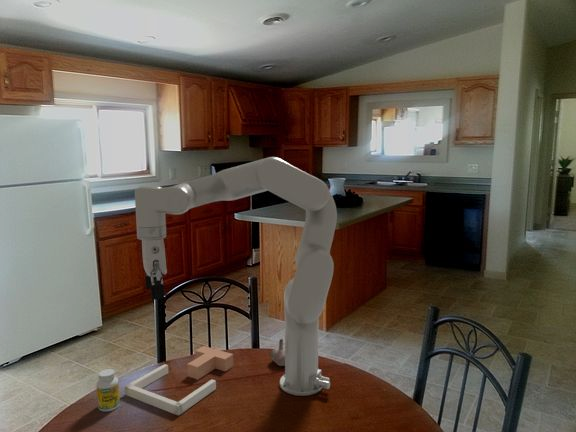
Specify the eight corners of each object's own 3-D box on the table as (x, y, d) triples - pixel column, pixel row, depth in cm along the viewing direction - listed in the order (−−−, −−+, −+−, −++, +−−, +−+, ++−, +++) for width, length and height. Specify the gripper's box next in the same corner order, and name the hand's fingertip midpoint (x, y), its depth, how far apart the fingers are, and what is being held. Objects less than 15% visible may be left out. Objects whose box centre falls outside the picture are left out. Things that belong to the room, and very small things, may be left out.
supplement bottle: (117, 398, 121) (115, 365, 120) (122, 408, 117) (120, 373, 115) (96, 404, 118) (93, 371, 117) (100, 414, 114) (97, 379, 112)
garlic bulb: (273, 356, 146) (273, 333, 145) (295, 358, 145) (295, 335, 143) (267, 367, 139) (267, 343, 138) (290, 369, 137) (290, 345, 136)
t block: (233, 366, 139) (233, 354, 139) (208, 383, 129) (208, 370, 128) (204, 357, 145) (203, 345, 145) (177, 373, 135) (177, 360, 134)
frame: (216, 388, 126) (215, 380, 125) (178, 415, 113) (178, 406, 113) (164, 371, 136) (164, 364, 135) (125, 394, 123) (124, 386, 123)
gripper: (172, 236, 113) (174, 300, 115) (160, 226, 128) (163, 283, 131) (141, 238, 110) (144, 305, 112) (133, 228, 125) (136, 287, 128)
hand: (154, 293), depth 121 cm, fingers open, 9 cm apart
